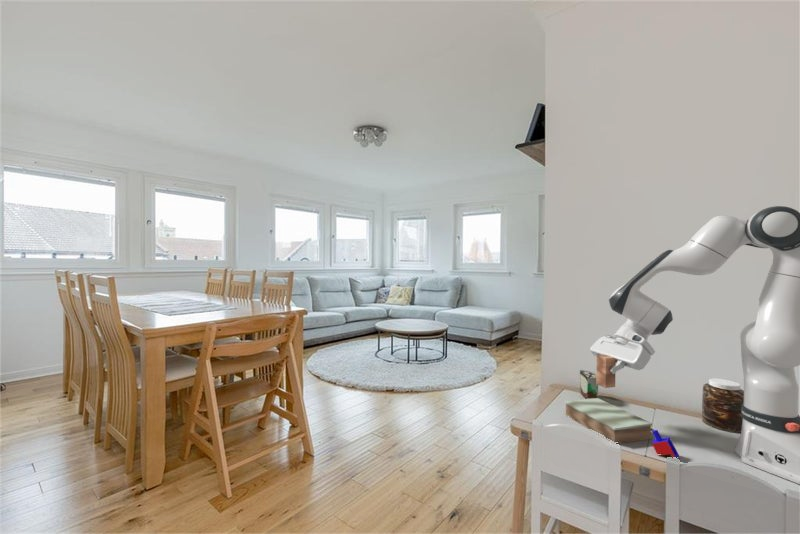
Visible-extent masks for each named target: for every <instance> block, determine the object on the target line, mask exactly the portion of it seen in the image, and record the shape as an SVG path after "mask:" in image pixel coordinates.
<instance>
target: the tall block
mask: <svg viewBox="0 0 800 534" xmlns="http://www.w3.org/2000/svg"><path fill="white" fill-rule="evenodd" d="M596 364H597V367H596V374H597V376H596V384H597V385H598V386H599V387H600V386H601V387H602V388H605V389H609V388H615V387H616V373H615V374H612V373H610V372H609V371H608V369H609V368H610V366H612V367H613V366H614V365H616V364H617V363H616V359H615V358H614V357H611V356H608V355H597V357H596Z"/></svg>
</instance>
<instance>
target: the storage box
mask: <svg viewBox="0 0 800 534" xmlns="http://www.w3.org/2000/svg"><path fill="white" fill-rule="evenodd" d="M564 404H565V416H566V415H567V416H566V417H568V416H569V417H568V418H570V419H571V418H572V420H573V419H574V420H573V421H575V422H577V423H578V424H580V425H582V426H583V427H585V428H587V429H588V428H589V430H590V429H592V430H594V431H596V432H598V433H600V434H602V435H604V436H605V437H606V438H608V439H610V440H612V441H614V442H618V443H617V444H623V443H630V442H639V441H644V440H650V439H651V438H652V437H651V436H652V435H651V434H652V430H651V429H652V428H651V427H652V426H653V423H652V422H650V421H648V420H646V419H643V418H642V417H639V416H638V415H636V414H632V413H631V412H629V411H626V410H624V409H622V408H621V407H618V406H617V405H614V404H611V403H610V402H607V401H605V400H603V399H600V398H599V397H597V398H593V399H584V398H583V399H574V400H567V401H564ZM592 430H591V431H592Z"/></svg>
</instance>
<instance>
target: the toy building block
mask: <svg viewBox="0 0 800 534" xmlns="http://www.w3.org/2000/svg"><path fill="white" fill-rule="evenodd" d="M651 433H652V434H653V436H654V439H653V440H652V442H651V445H652V447H653V449H654V451H655V453H656V455H657V454H661V455H660V456H667V455H670V456H671V458H672V457H676V458H677V457H678V458H679V457H680V454H679V453H678V450H677V449H676V447H675V445H674V443H673V441H672V440H671V437H670V436H668V437H662V436H661V434H660V432H659V430H658V429H654V430H651Z"/></svg>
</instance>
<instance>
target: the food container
mask: <svg viewBox="0 0 800 534" xmlns="http://www.w3.org/2000/svg"><path fill="white" fill-rule="evenodd" d="M596 376H597V372H593V371H590V370H584V369H580V370H579V390H580V391H579V393H580V395H581V397H582V396H583V397H584V398H585V399H593V398H598V393H599V385H597V384H596ZM583 397H582V398H583ZM584 398H583V399H584Z"/></svg>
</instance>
